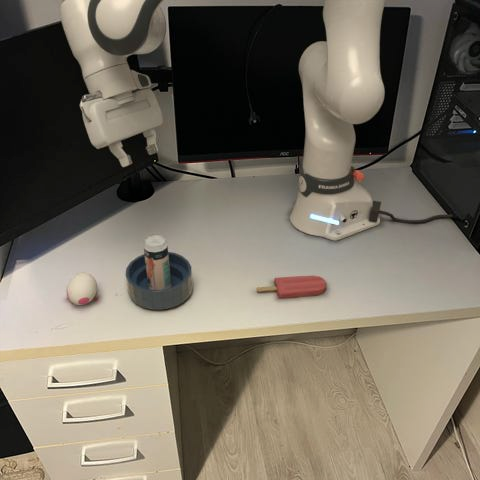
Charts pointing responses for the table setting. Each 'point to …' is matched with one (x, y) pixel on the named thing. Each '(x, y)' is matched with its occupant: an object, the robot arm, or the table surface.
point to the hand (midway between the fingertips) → (141, 159)
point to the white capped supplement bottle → (157, 262)
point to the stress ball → (81, 288)
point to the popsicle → (297, 286)
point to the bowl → (164, 297)
